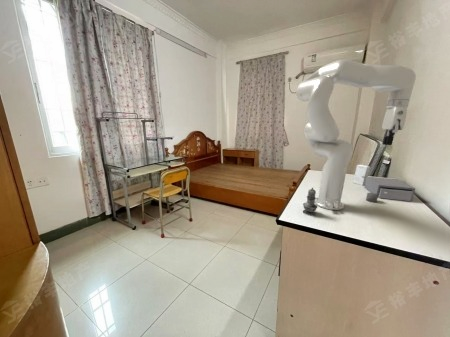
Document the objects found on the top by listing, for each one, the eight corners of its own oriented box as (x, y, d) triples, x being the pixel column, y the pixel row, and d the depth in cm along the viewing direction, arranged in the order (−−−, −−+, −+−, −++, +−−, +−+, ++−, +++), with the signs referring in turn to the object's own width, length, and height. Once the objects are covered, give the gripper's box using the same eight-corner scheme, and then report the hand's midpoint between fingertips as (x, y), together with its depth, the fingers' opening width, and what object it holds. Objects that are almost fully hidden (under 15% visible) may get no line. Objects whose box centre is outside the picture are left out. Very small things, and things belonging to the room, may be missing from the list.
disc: (394, 190, 103) (395, 188, 103) (401, 195, 97) (402, 192, 96) (379, 189, 105) (380, 186, 105) (385, 194, 99) (386, 191, 98)
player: (411, 201, 95) (415, 188, 93) (375, 197, 100) (378, 185, 98) (394, 190, 110) (397, 179, 108) (364, 187, 114) (366, 176, 113)
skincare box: (352, 182, 123) (356, 165, 119) (356, 181, 125) (359, 164, 122) (362, 185, 117) (366, 167, 114) (366, 184, 119) (370, 166, 116)
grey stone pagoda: (304, 208, 87) (307, 184, 84) (317, 212, 83) (321, 187, 80) (300, 213, 82) (303, 187, 79) (314, 217, 79) (318, 191, 76)
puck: (378, 203, 93) (379, 196, 92) (367, 201, 94) (369, 195, 93) (374, 199, 97) (375, 193, 96) (364, 198, 98) (365, 192, 97)
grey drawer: (410, 201, 94) (413, 192, 93) (379, 197, 98) (381, 189, 97) (393, 190, 109) (396, 182, 108) (367, 187, 113) (369, 180, 111)
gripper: (417, 103, 77) (404, 147, 81) (398, 106, 90) (389, 143, 95) (395, 102, 79) (384, 145, 84) (380, 105, 93) (371, 142, 97)
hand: (386, 144), depth 89 cm, fingers closed
